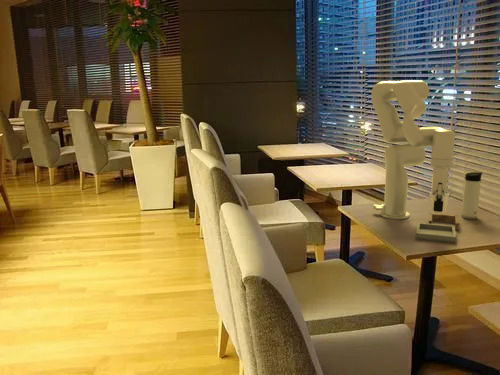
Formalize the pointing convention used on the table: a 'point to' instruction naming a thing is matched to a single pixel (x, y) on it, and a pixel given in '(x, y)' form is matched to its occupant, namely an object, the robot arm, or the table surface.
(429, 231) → the serving tray
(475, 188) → the travel mug
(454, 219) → the walnut holder
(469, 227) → the table surface
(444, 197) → the white piece
